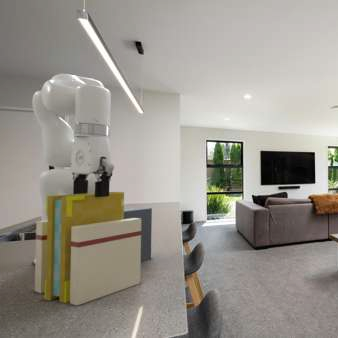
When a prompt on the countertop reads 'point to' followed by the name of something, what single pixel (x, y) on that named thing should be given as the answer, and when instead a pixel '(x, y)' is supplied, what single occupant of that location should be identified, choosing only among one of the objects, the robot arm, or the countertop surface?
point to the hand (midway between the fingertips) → (91, 195)
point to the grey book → (143, 229)
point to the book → (61, 233)
